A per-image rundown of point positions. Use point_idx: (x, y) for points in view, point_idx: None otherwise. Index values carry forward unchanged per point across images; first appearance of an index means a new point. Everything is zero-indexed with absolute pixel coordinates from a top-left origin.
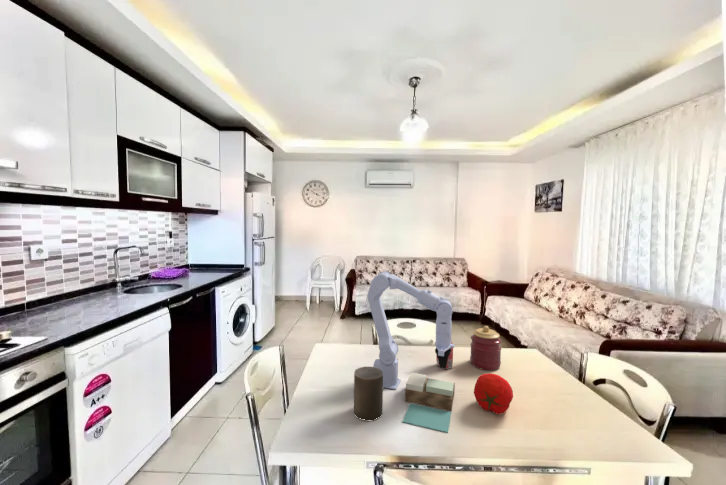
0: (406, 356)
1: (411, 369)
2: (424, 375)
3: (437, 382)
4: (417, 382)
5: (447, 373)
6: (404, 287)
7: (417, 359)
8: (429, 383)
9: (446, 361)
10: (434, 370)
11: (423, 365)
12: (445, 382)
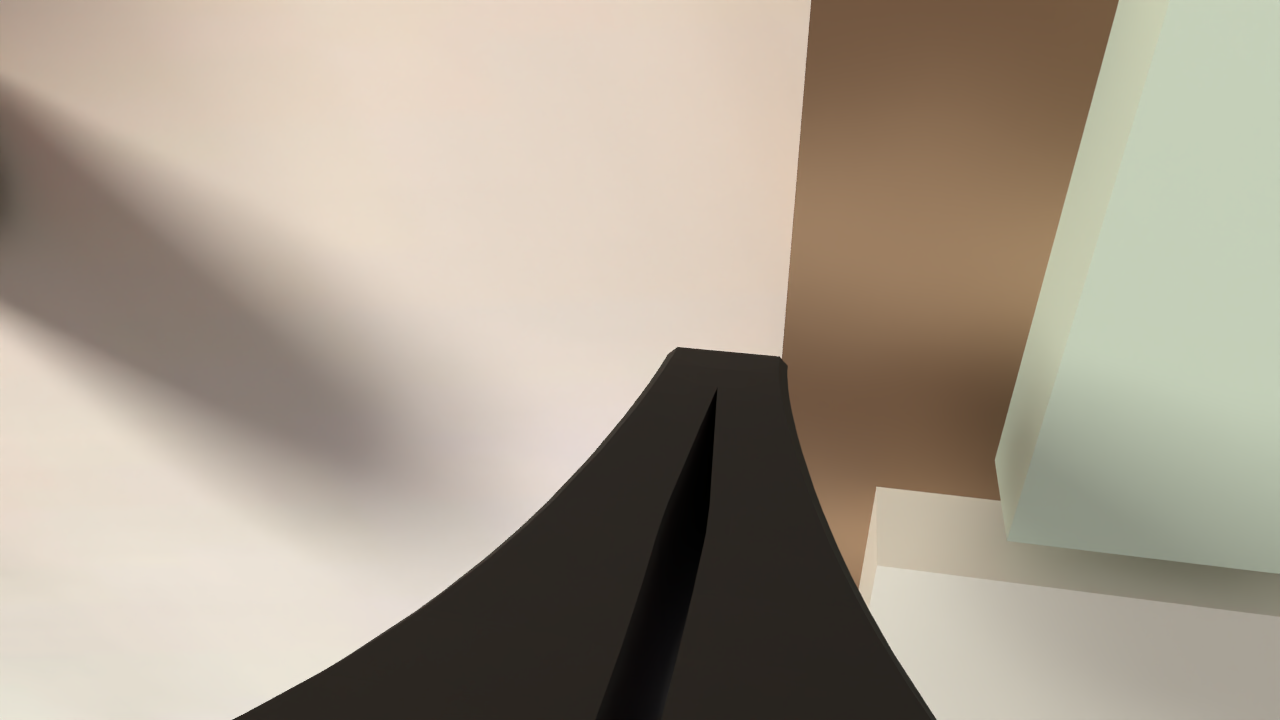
0: (39, 598)
1: (329, 547)
2: (896, 599)
3: (1204, 392)
4: (1240, 698)
5: (92, 68)
6: None
7: (8, 493)
8: (1277, 534)
9: (834, 539)
10: (146, 280)
11: (112, 424)
12: (1178, 217)
